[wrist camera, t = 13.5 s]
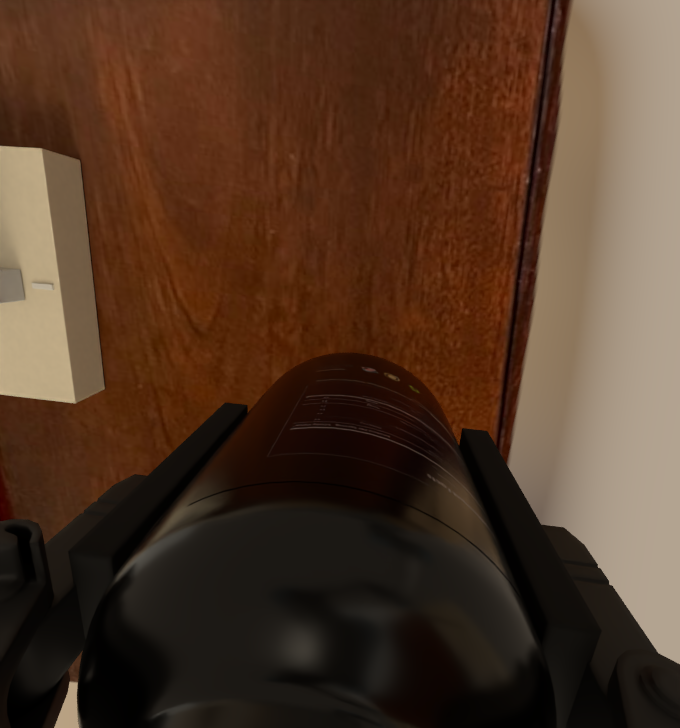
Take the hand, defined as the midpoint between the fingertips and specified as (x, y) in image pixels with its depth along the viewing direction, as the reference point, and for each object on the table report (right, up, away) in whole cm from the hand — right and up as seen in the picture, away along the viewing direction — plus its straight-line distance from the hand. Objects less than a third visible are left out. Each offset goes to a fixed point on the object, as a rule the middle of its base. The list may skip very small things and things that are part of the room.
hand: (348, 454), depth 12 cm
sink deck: (-24, +9, +15) cm, 30 cm away
